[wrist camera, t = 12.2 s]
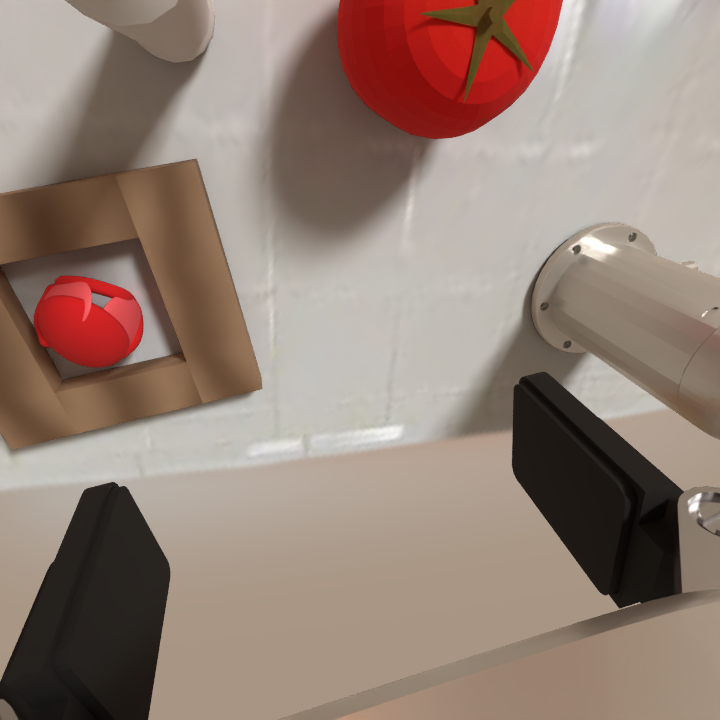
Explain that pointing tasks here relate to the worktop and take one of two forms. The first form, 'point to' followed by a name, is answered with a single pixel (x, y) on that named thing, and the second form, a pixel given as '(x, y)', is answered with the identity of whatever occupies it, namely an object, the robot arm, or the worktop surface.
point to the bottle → (157, 24)
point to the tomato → (443, 58)
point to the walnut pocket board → (175, 282)
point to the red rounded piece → (88, 321)
